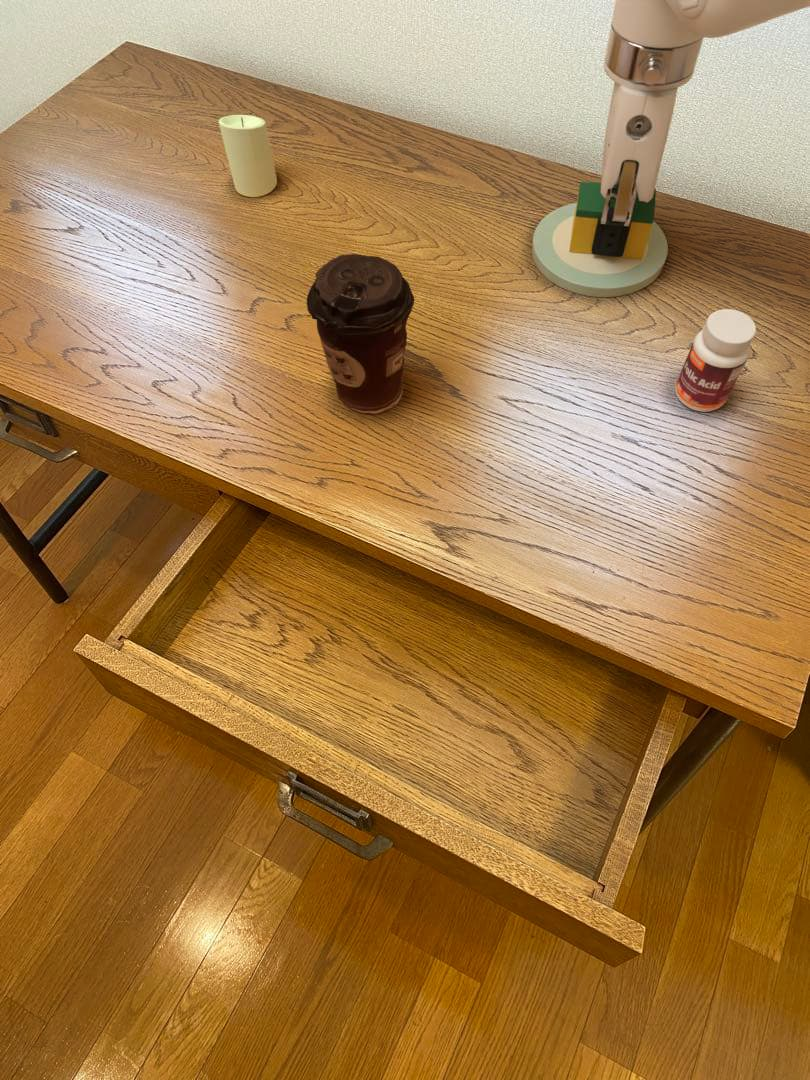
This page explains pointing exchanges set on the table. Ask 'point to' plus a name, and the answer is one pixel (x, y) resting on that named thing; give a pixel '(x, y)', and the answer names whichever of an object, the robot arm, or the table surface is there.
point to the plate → (593, 260)
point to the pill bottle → (715, 360)
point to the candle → (248, 154)
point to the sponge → (592, 208)
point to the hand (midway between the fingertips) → (608, 235)
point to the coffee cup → (362, 328)
